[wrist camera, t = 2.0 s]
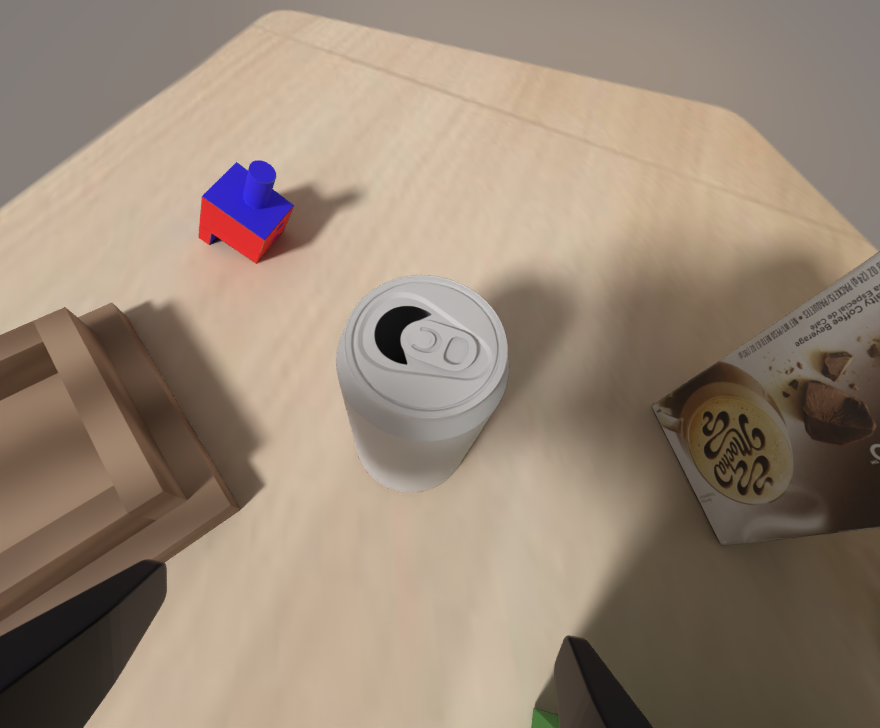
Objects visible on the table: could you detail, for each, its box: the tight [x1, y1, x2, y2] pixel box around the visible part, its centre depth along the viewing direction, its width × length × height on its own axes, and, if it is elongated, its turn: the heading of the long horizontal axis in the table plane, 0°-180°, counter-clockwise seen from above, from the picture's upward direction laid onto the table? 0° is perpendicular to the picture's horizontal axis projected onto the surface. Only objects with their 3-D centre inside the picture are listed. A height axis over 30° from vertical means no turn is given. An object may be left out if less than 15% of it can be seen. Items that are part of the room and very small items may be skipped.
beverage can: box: [336, 275, 509, 493], centre depth 19 cm, size 6×6×12 cm
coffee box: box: [652, 251, 880, 545], centre depth 19 cm, size 9×6×16 cm
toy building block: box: [199, 161, 294, 264], centre depth 28 cm, size 4×4×8 cm
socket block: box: [0, 303, 240, 636], centre depth 20 cm, size 15×15×4 cm
